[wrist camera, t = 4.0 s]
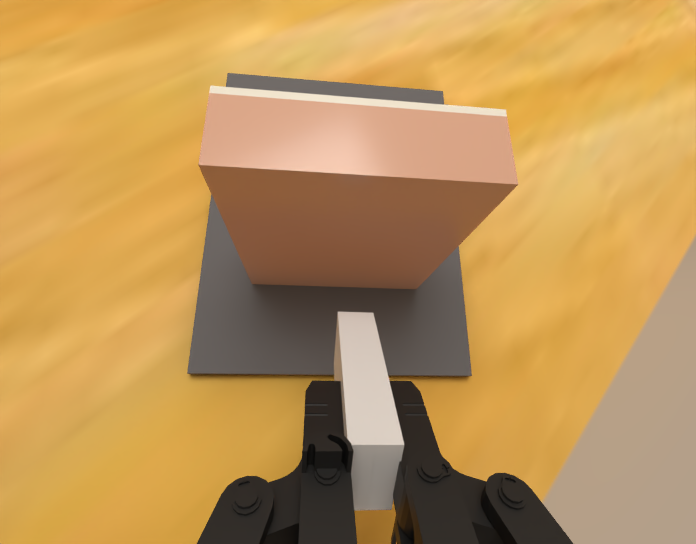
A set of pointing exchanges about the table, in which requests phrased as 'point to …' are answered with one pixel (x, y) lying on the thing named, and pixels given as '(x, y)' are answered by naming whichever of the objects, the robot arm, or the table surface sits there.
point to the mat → (321, 295)
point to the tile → (350, 183)
